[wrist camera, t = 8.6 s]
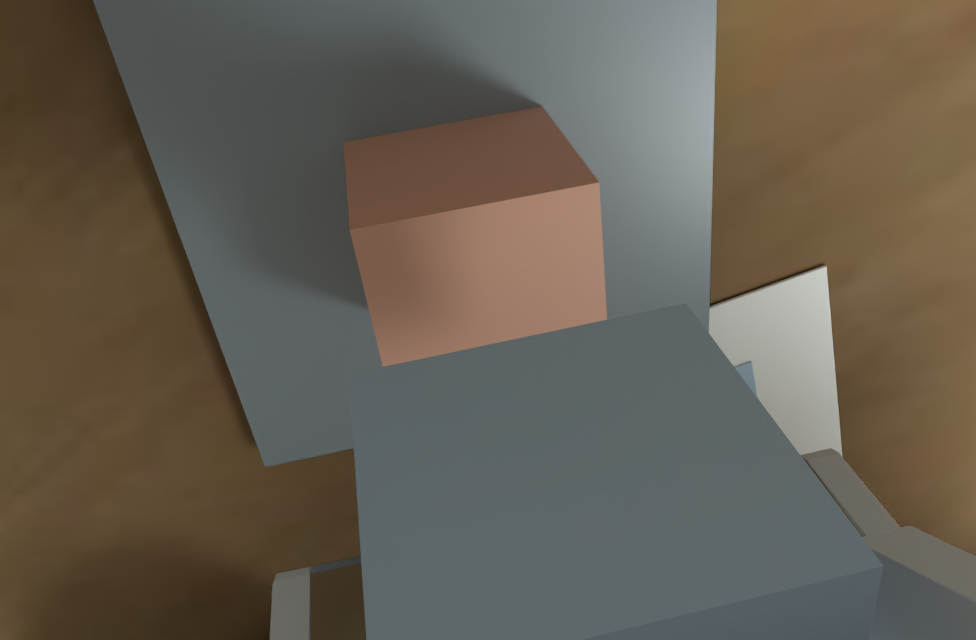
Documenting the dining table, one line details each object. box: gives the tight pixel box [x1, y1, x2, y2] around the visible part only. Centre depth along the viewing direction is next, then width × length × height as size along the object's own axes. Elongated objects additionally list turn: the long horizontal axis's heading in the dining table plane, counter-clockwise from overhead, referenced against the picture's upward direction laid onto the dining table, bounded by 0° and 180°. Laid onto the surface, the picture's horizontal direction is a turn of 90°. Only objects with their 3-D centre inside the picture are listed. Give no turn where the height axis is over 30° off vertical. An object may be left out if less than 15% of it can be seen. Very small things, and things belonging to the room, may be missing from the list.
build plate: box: [93, 0, 717, 467], centre depth 22 cm, size 14×14×1 cm
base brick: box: [343, 106, 607, 367], centre depth 20 cm, size 5×5×5 cm
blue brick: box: [349, 303, 884, 640], centre depth 11 cm, size 5×5×5 cm
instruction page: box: [709, 265, 842, 456], centre depth 28 cm, size 10×8×1 cm
